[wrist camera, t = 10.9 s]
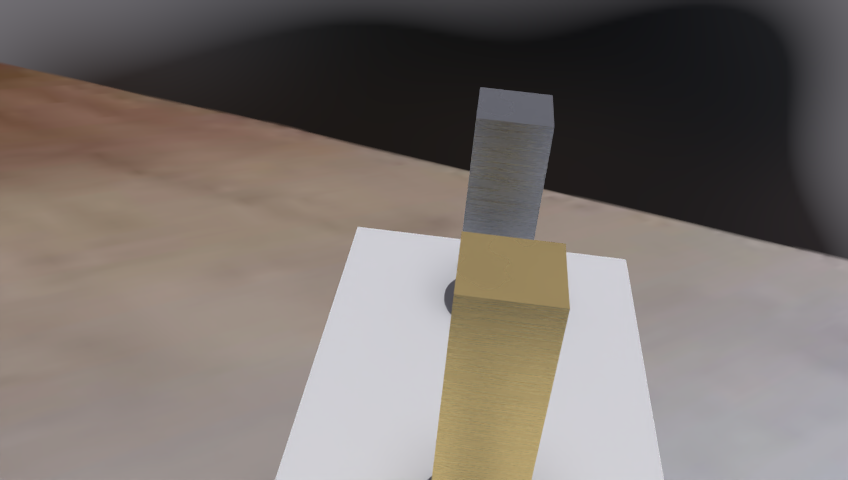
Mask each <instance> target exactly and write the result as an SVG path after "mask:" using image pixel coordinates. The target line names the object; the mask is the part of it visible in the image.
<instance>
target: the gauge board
mask: <svg viewBox="0 0 848 480" xmlns="http://www.w3.org/2000/svg"><path fill="white" fill-rule="evenodd" d="M460 241H461V239H454V238H446V237H437V236H429V235H421V234H413V233H405V232H396V231H388V230H380V229H372V228H364V227H358V228H357V231H356V234H355V237H354V240H353V243H352V246H351V249H350V252H349V255H348V259H347V262H346V265H345V268H344V271H343V274H342V277H341V280H340V283H339V286H338V289H337V292H336V295H335V298H334V301H333V304H332V307H331V311H330V314H329V317H328V320H327V323H326V326H325V329H324V332H323V335H322V338H321V341H320V344H319V347H318V350H317V353H316V356H315V359H314V363H313V366H312V369H311V372H310V375H309V378H308V381H307V384H306V387H305V390H304V393H303V396H302V399H301V402H300V405H299V408H298V411H297V415H296V418H295V421H294V424H293V427H292V430H291V433H290V436H289V439H288V442H287V445H286V448H285V451H284V454H283V457H282V460H281V463H280V467H279V470H278V473H277V476H276V479H275V480H432V472H433V464H434V455H435V447H436V438H437V430H438V422H439V413H440V405H441V397H442V388H443V380H444V372H445V363H446V355H447V347H448V338H449V330H450V321H451V313H452V305H453V296H454V288H455V281H456V273H457V265H458V257H459V249H460ZM566 257H567V272H568V287H569V302H570V311H569V315H568V320H567V324H566V328H565V333H564V337H563V342H562V346H561V351H560V355H559V360H558V364H557V369H556V373H555V377H554V382H553V386H552V391H551V395H550V400H549V404H548V409H547V413H546V417H545V422H544V426H543V431H542V435H541V440H540V444H539V449H538V453H537V457H536V462H535V466H534V471H533V475H532V480H664V477H663V471H662V466H661V460H660V454H659V448H658V443H657V437H656V431H655V425H654V419H653V414H652V408H651V402H650V396H649V391H648V385H647V379H646V373H645V367H644V362H643V356H642V350H641V344H640V338H639V333H638V327H637V321H636V315H635V310H634V304H633V298H632V292H631V286H630V281H629V275H628V269H627V263H626V259H618V258H609V257H601V256H593V255H585V254H577V253H568V252H566Z"/></svg>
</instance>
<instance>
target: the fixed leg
mask: <svg viewBox="0 0 848 480" xmlns="http://www.w3.org/2000/svg"><path fill="white" fill-rule="evenodd" d="M553 115H554V114H553V97H552V95H543V94H535V93H526V92H518V91H508V90H500V89H491V88H482V87H481V88H480V94H479V102H478V110H477V117H476V125H475V134H474V143H473V151H472V159H471V168H470V175H469V183H468V192H467V200H466V208H465V217H464V225H463V231H464V232H472V233H481V234H489V235H497V236H505V237H514V238H522V239H530V240H534V236H535V230H536V225H537V219H538V214H539V208H540V203H541V197H542V192H543V186H544V181H545V175H546V170H547V164H548V159H549V153H550V148H551V142H552V137H553V131H554V116H553Z"/></svg>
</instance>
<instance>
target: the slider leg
mask: <svg viewBox="0 0 848 480" xmlns="http://www.w3.org/2000/svg"><path fill="white" fill-rule="evenodd" d="M569 311H570V302H569V287H568V272H567V257H566V244H563V243H555V242H546V241H538V240H530V239H522V238H514V237H505V236H497V235H489V234H481V233H472V232H464V231H462V234H461V241H460V249H459V257H458V265H457V273H456V281H455V288H454V296H453V305H452V313H451V321H450V330H449V338H448V347H447V355H446V363H445V372H444V380H443V388H442V397H441V405H440V413H439V422H438V430H437V438H436V447H435V455H434V464H433V472H432V480H532V475H533V471H534V466H535V462H536V457H537V453H538V449H539V444H540V440H541V435H542V431H543V426H544V422H545V417H546V413H547V409H548V404H549V400H550V395H551V391H552V386H553V382H554V377H555V373H556V369H557V364H558V360H559V355H560V351H561V346H562V342H563V337H564V333H565V328H566V324H567V320H568V315H569Z"/></svg>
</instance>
